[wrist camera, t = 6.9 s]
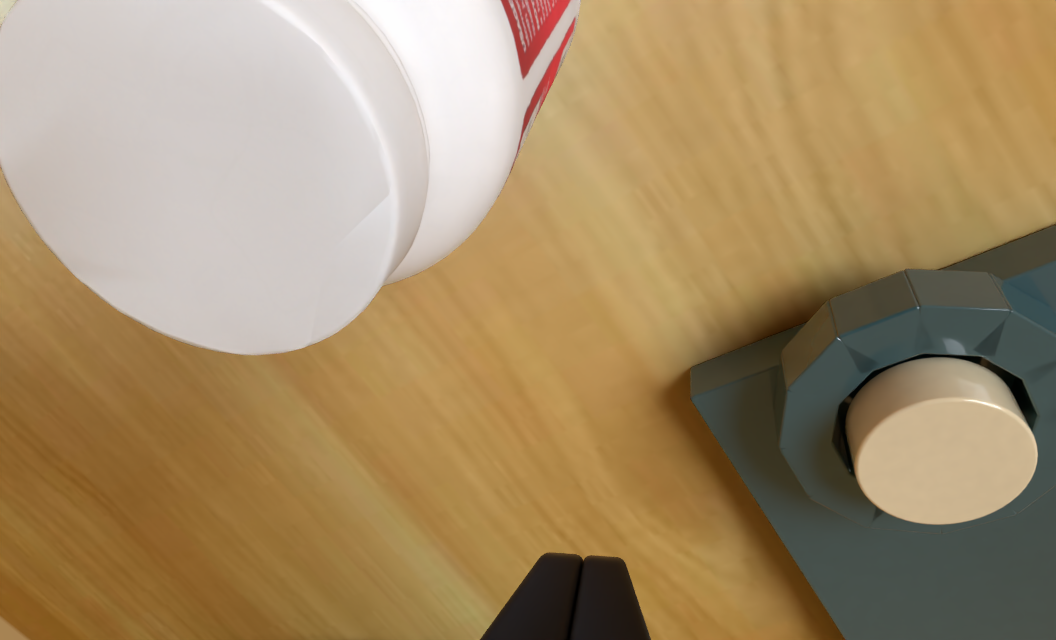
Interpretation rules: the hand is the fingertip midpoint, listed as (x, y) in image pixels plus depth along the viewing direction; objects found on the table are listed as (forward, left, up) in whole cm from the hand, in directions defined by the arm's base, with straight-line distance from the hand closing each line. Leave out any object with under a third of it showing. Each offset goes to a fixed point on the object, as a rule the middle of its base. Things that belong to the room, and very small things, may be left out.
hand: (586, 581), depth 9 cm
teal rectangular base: (+14, +3, -13) cm, 19 cm away
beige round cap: (+8, +3, -10) cm, 13 cm away
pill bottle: (-5, -2, -13) cm, 14 cm away
